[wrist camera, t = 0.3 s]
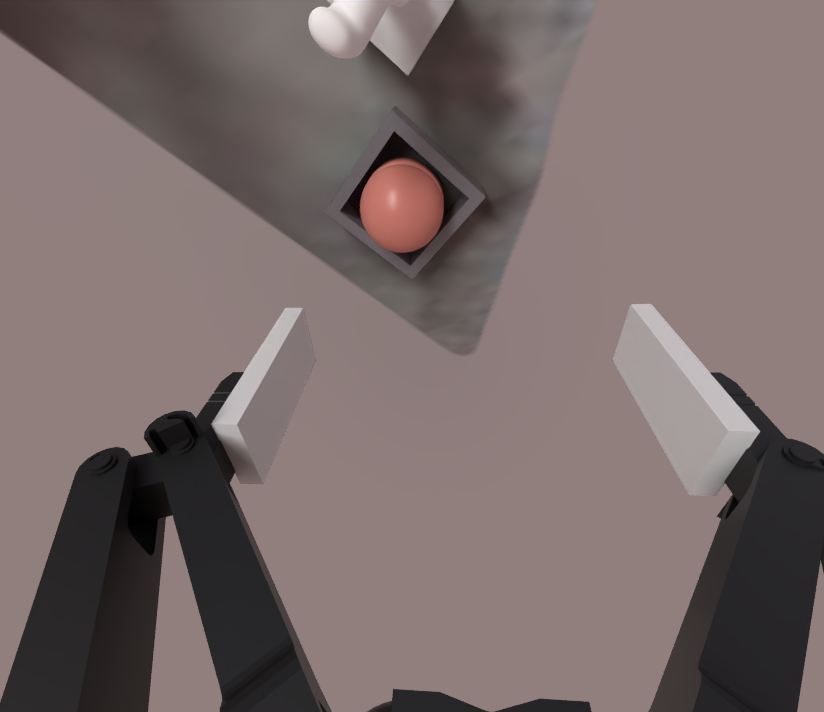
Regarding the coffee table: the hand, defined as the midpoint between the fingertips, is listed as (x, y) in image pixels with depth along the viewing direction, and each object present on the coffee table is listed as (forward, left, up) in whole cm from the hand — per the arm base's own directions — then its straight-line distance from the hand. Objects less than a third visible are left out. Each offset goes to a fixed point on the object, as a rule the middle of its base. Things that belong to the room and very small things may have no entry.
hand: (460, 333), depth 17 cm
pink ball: (-3, -3, -24) cm, 25 cm away
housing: (-3, -3, -24) cm, 25 cm away
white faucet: (-12, +8, -24) cm, 28 cm away
